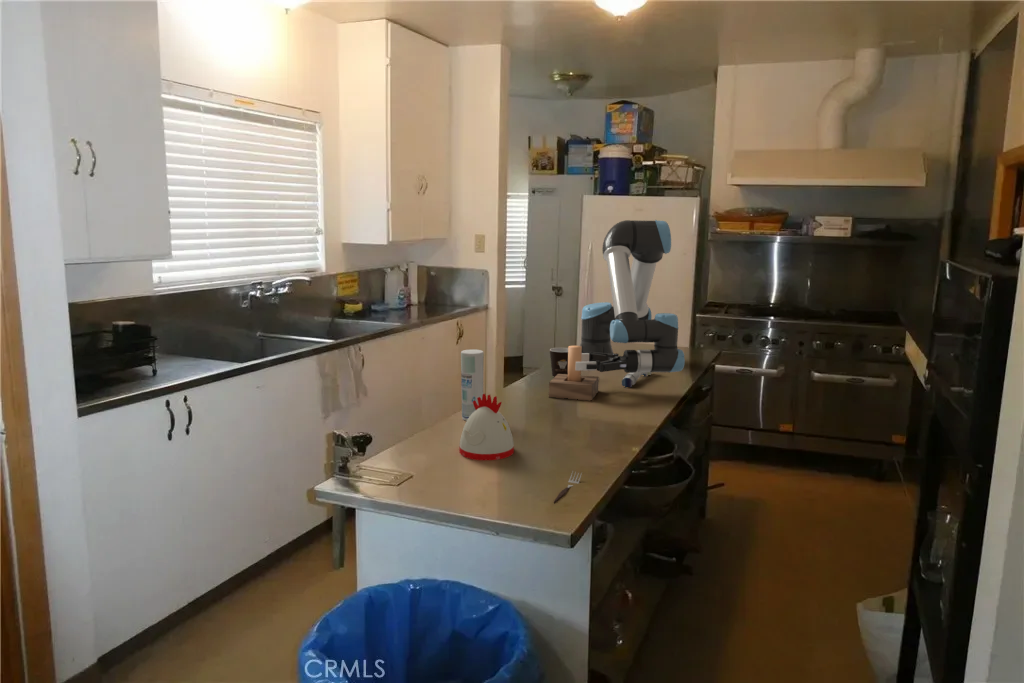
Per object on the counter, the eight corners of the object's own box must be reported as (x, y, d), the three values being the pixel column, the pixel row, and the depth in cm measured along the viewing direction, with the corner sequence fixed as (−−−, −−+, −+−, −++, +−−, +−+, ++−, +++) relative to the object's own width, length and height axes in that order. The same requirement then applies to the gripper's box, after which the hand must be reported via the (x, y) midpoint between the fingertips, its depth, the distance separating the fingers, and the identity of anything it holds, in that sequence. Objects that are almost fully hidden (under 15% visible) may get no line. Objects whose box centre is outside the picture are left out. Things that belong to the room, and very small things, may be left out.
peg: (568, 392, 251) (569, 345, 248) (581, 393, 250) (582, 345, 247) (566, 395, 247) (567, 347, 244) (579, 396, 246) (580, 348, 243)
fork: (547, 503, 159) (548, 495, 158) (571, 478, 173) (572, 470, 173) (559, 505, 158) (559, 496, 157) (582, 480, 172) (582, 472, 172)
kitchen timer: (494, 464, 182) (494, 404, 179) (448, 454, 189) (447, 396, 186) (523, 448, 193) (524, 392, 191) (479, 439, 201) (479, 385, 198)
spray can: (488, 418, 220) (488, 351, 217) (472, 422, 216) (471, 354, 212) (472, 413, 225) (472, 348, 221) (456, 418, 220) (456, 351, 216)
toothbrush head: (619, 376, 258) (640, 354, 279) (619, 394, 260) (640, 370, 281) (634, 378, 256) (654, 355, 277) (634, 396, 258) (654, 372, 279)
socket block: (557, 388, 257) (557, 373, 256) (598, 391, 253) (598, 376, 252) (549, 397, 244) (549, 382, 243) (591, 400, 241) (591, 385, 240)
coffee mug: (546, 378, 271) (546, 351, 269) (553, 373, 279) (554, 346, 277) (576, 381, 267) (577, 353, 265) (583, 376, 275) (584, 349, 273)
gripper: (645, 380, 236) (578, 381, 235) (628, 364, 261) (567, 364, 259) (646, 357, 235) (578, 358, 233) (628, 343, 259) (567, 343, 258)
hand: (572, 361), depth 246 cm, fingers open, 13 cm apart
